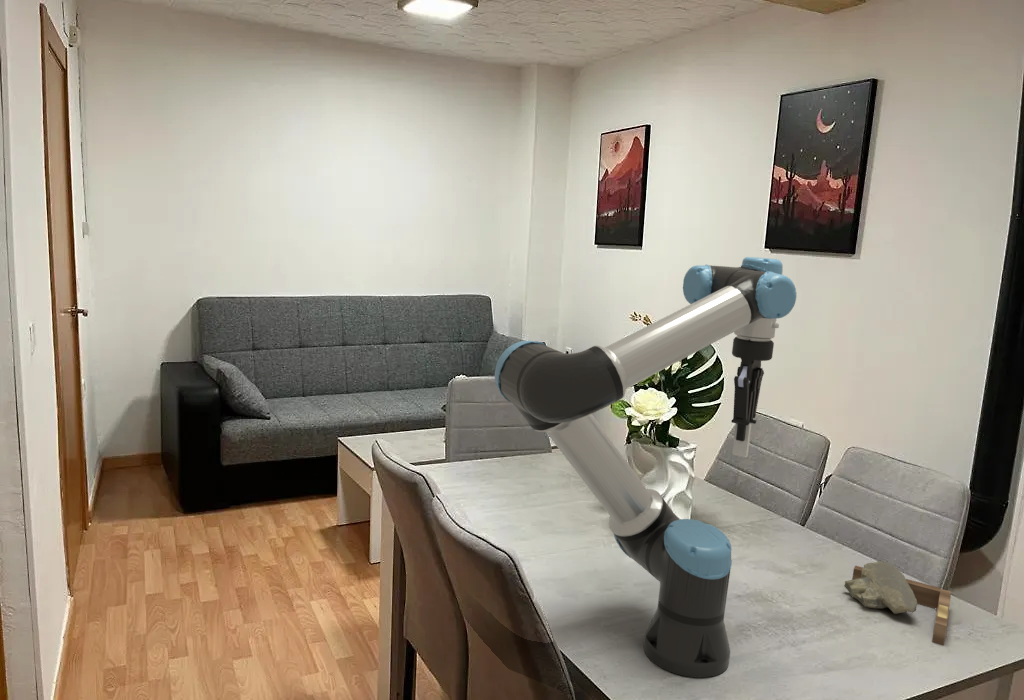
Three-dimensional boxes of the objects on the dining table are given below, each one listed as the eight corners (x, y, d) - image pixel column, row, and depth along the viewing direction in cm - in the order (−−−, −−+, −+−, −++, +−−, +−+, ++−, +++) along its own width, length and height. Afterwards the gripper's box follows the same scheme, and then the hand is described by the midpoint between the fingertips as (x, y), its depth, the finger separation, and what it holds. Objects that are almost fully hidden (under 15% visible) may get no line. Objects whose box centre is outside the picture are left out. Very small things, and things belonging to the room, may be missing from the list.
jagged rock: (873, 609, 170) (835, 591, 168) (893, 566, 170) (855, 547, 169) (916, 633, 155) (875, 613, 154) (937, 585, 156) (896, 566, 155)
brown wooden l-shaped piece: (943, 645, 149) (947, 625, 148) (839, 614, 158) (841, 595, 158) (948, 608, 164) (951, 589, 164) (852, 582, 174) (855, 564, 173)
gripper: (765, 343, 141) (750, 467, 145) (781, 337, 152) (767, 452, 156) (724, 338, 145) (711, 458, 149) (743, 332, 156) (730, 444, 160)
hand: (739, 455), depth 153 cm, fingers closed
